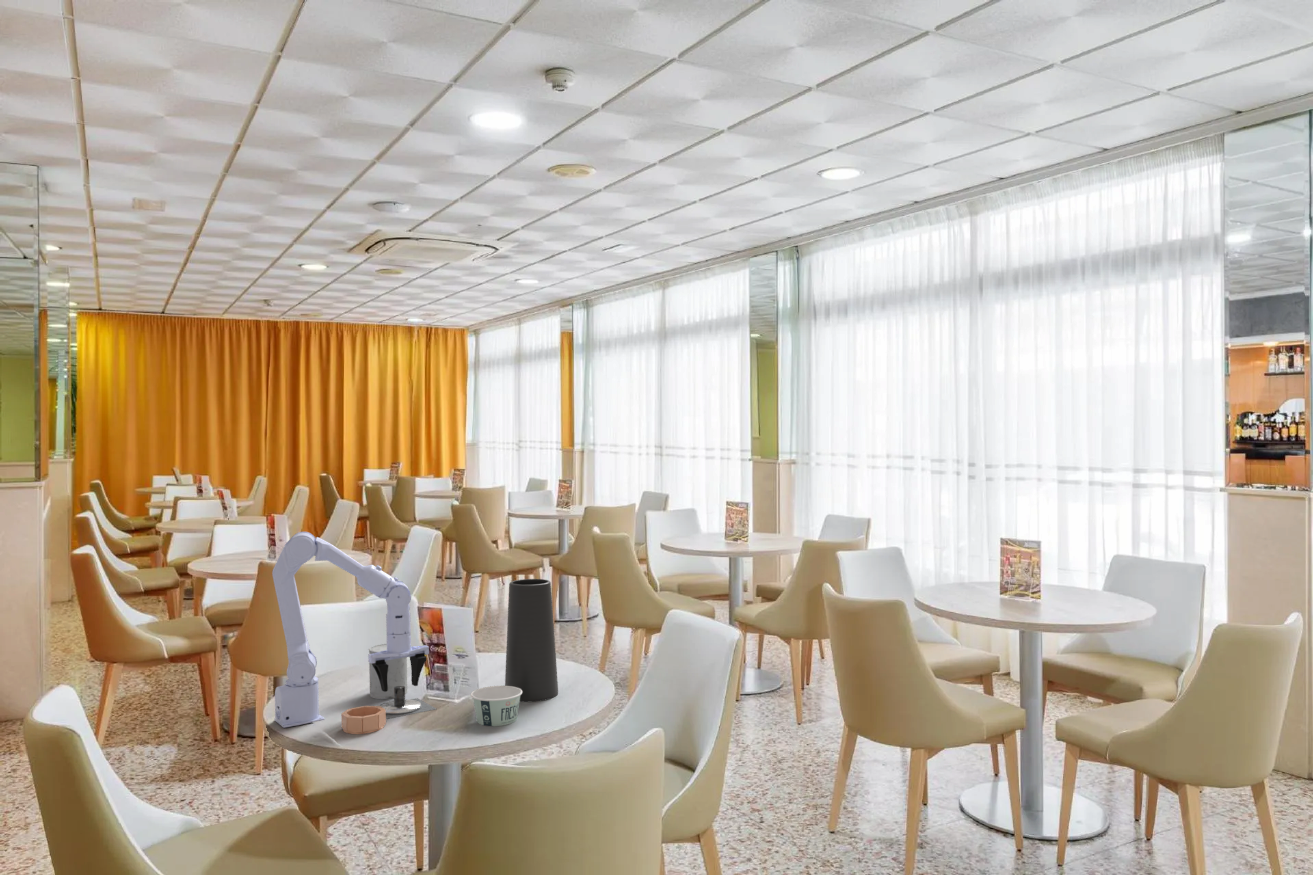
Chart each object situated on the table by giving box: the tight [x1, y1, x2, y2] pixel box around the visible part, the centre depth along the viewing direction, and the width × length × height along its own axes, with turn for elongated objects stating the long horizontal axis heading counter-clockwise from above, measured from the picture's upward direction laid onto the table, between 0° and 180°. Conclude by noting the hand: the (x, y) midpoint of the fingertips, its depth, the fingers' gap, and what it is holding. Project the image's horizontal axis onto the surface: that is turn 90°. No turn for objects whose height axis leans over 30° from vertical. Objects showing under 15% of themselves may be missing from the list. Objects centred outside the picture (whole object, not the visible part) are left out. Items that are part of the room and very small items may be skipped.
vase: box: [504, 578, 559, 703], centre depth 241 cm, size 14×14×29 cm
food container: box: [470, 685, 522, 727], centre depth 220 cm, size 12×12×6 cm
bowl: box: [340, 705, 387, 735], centre depth 214 cm, size 9×9×4 cm
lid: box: [379, 686, 421, 715], centre depth 228 cm, size 10×10×5 cm
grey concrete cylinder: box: [368, 643, 408, 700], centre depth 242 cm, size 10×10×12 cm
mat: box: [377, 697, 437, 720], centre depth 228 cm, size 14×12×1 cm
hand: (399, 687), depth 228 cm, fingers open, 7 cm apart
